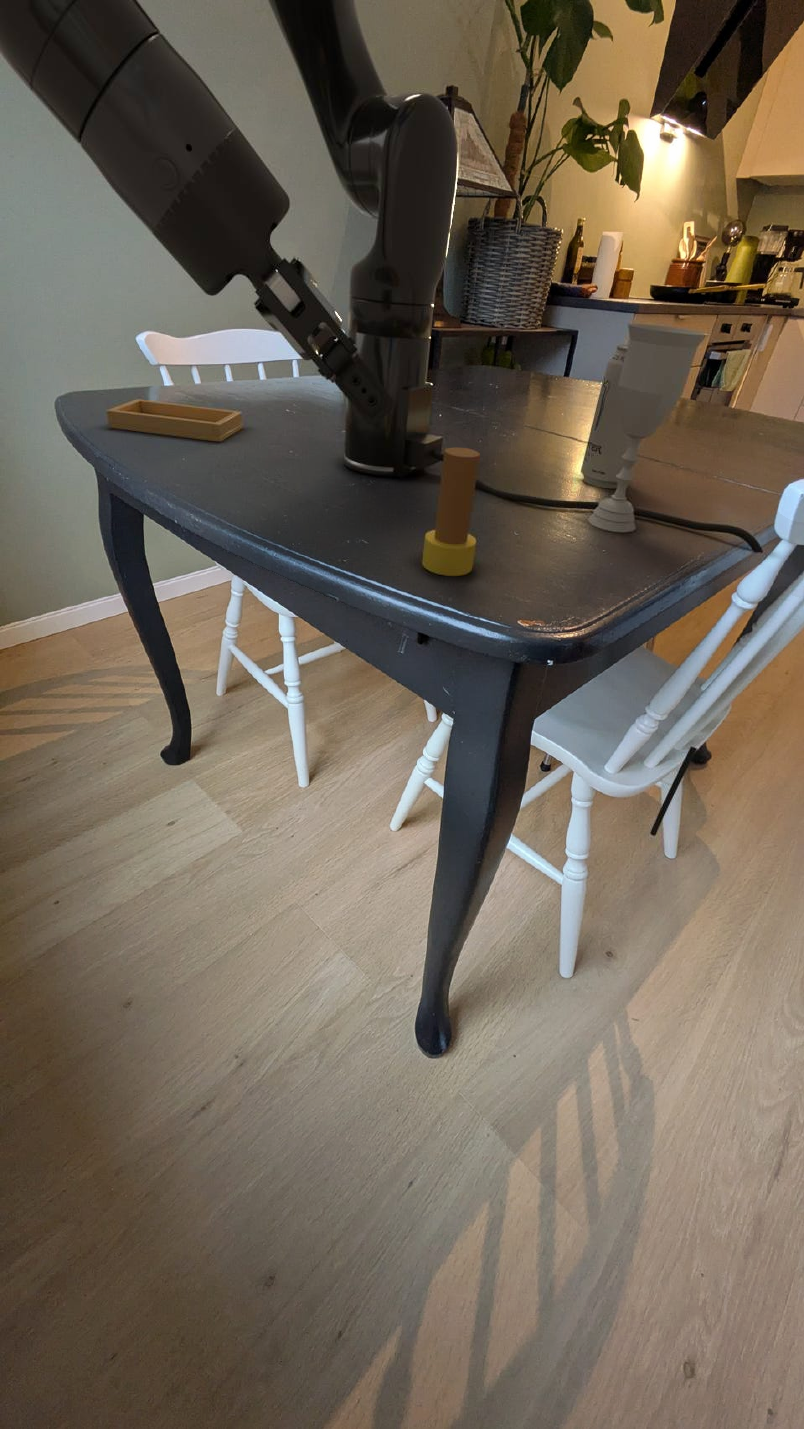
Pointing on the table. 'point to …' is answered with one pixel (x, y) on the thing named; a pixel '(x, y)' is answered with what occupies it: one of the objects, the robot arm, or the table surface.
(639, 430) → the chalice
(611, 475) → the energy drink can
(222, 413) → the tray
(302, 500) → the table surface
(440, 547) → the peg on yellow base
